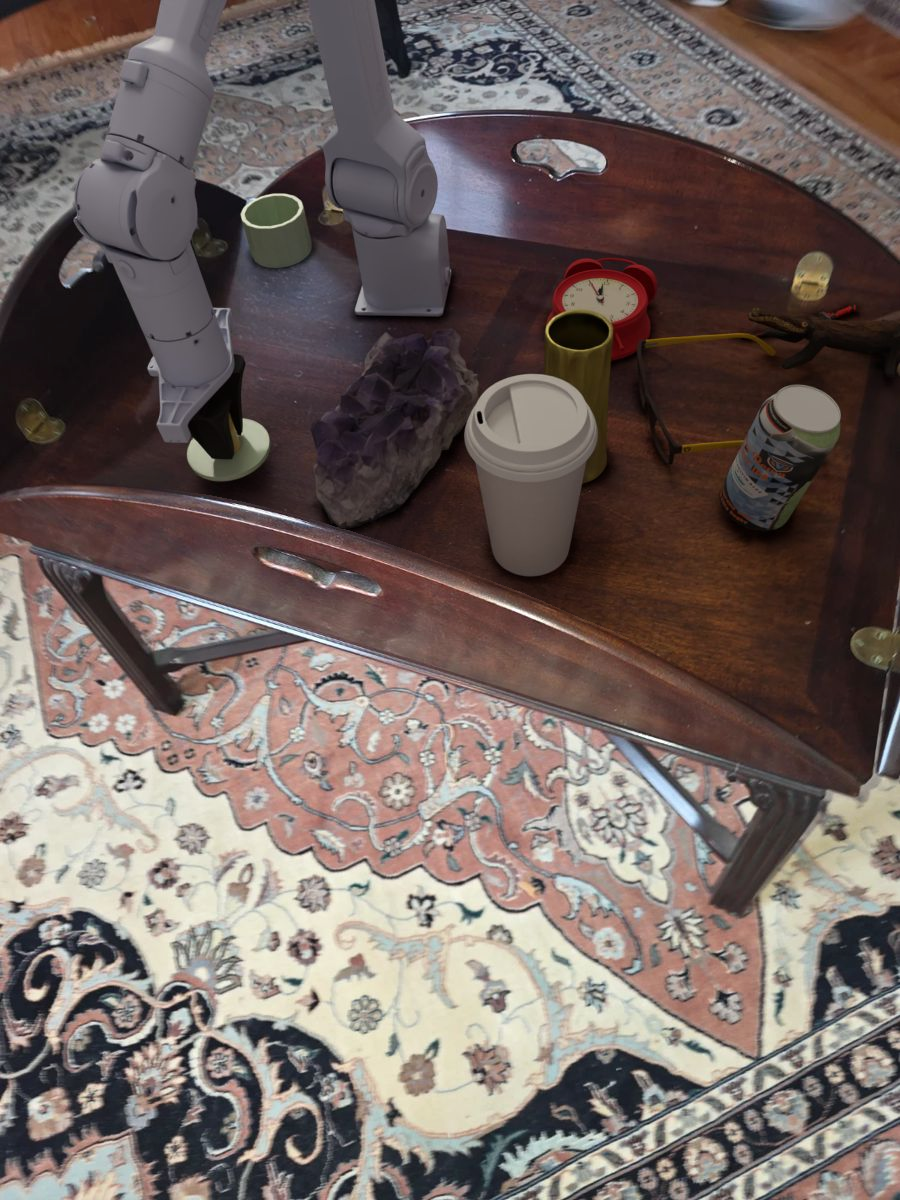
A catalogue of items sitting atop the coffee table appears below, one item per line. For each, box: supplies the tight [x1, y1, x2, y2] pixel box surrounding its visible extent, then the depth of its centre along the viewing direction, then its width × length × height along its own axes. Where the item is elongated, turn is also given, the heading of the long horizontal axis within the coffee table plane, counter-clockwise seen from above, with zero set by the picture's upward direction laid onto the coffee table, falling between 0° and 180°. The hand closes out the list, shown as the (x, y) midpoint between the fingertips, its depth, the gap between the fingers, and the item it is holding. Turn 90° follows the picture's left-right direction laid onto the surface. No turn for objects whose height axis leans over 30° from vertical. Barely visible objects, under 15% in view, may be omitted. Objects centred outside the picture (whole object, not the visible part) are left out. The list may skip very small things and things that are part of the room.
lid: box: [186, 413, 272, 482], centre depth 78 cm, size 8×8×5 cm
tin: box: [240, 193, 313, 269], centre depth 100 cm, size 7×7×5 cm
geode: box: [309, 328, 480, 530], centre depth 77 cm, size 20×12×10 cm, turn 155°
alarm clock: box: [545, 257, 659, 362], centre depth 88 cm, size 10×6×15 cm
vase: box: [543, 309, 613, 485], centre depth 73 cm, size 6×6×14 cm
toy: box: [747, 307, 900, 379], centre depth 82 cm, size 23×7×5 cm, turn 87°
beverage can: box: [718, 384, 842, 532], centre depth 69 cm, size 6×7×12 cm
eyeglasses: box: [636, 332, 777, 466], centre depth 79 cm, size 14×14×4 cm
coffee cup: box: [463, 373, 598, 577], centre depth 67 cm, size 10×10×15 cm
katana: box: [744, 304, 858, 340], centre depth 87 cm, size 13×2×1 cm, turn 104°
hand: (227, 444), depth 79 cm, fingers closed on lid, 2 cm apart
